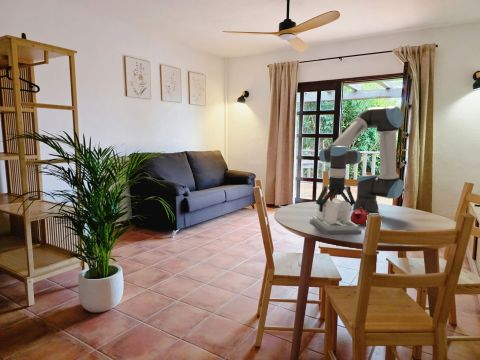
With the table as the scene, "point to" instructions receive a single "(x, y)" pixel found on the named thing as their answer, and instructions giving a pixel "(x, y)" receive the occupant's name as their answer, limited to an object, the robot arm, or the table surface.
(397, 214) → the table surface
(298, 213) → the table surface
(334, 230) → the grey green tray
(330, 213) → the cable organizer
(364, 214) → the red tomato
